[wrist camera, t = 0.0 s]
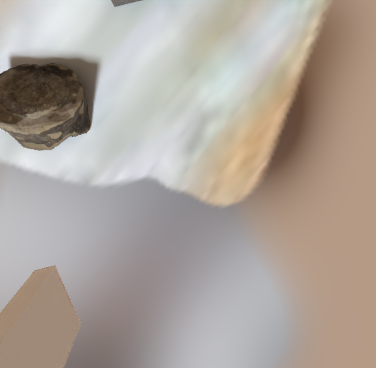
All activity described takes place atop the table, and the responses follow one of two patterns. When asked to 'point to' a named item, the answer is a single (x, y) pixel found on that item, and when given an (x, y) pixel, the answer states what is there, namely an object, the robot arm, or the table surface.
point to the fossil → (42, 105)
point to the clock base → (122, 2)
